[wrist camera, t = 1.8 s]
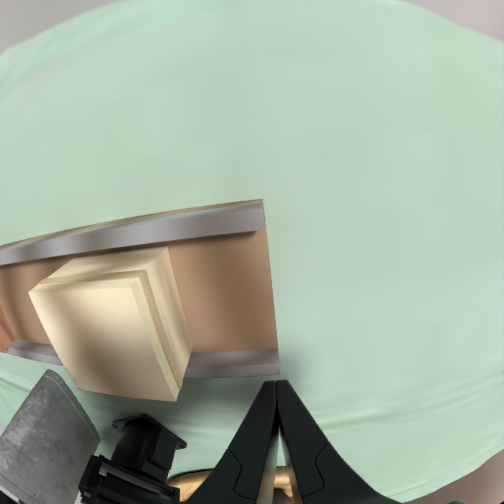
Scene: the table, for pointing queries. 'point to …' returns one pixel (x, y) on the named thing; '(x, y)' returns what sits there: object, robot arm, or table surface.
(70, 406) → the flask
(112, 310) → the cream square block
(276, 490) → the wooden plate with food
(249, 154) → the table surface
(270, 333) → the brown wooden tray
